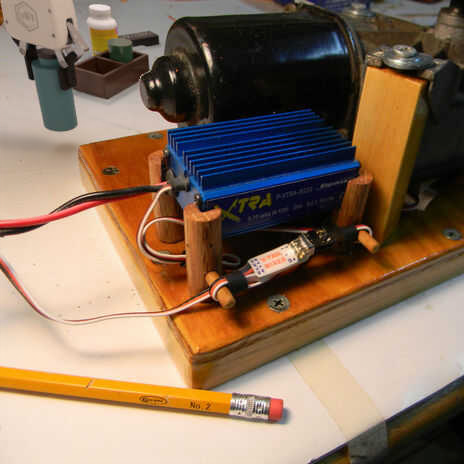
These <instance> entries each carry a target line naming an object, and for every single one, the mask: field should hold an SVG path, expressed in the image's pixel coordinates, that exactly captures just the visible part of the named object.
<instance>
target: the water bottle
mask: <svg viewBox="0 0 464 464" xmlns="http://www.w3.org/2000/svg"><path fill="white" fill-rule="evenodd" d="M37 56H38V58H39V59H35V60H34V61H32V63H31V65H32V70H33V75H34V80H33V81H34V83H35V84H34V85H35V89H36V94H37V98H38V104H39V108H40V113H41V118H42V123H43V126H44V128H45V129H47V130H48V131H51V132H55V133H57V132H58V133H62V132H69V131H72V130H74V129H76V128H77V127H78V125H79V123H78V115H77V109H76V103H75V98H74V90H73V87H72V88H70V89H68V90H66V91H64V90H62V89H61V87H60V81H59V75H58V69H57V67H58V66H60V63H59V61H58V58H57V56H56V54H55V51H54V50H51V49H47V48H44V47H40V48H38V50H37Z"/></svg>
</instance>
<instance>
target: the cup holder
mask: <svg viewBox="0 0 464 464" xmlns="http://www.w3.org/2000/svg"><path fill="white" fill-rule="evenodd" d="M149 56H150V55H149V54H148V53H144V52H141V51H137V50H134V49H133V58H134V60H132V61H130V62H128V63H126V64H125V63H121V62H118V61H114V60H110V58H109V50H106V51H104V52H101V53H99V54H97V55H95V56H92V55H91V56H90V57H88V58H86V59H84V60H81V61H80V62H77V63H75V64H74V65H75V72H76V78H77V85H76V86H75V87H72V90H73V91H77V92H81V93H84V94H86V95H90V96H93V97H97V98H101V99H104V100H110V99H111V98H113V97H115V96H117V95H118V94H120V93H122V92H124V91H125V90H128V88H131V87H132V86H134V85H136V84H137V83H139V82H140V81H139V79H140V76H141V75H142V74H144V73H146V72H148V71H151V70H150V59H149ZM138 81H139V82H138Z"/></svg>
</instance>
